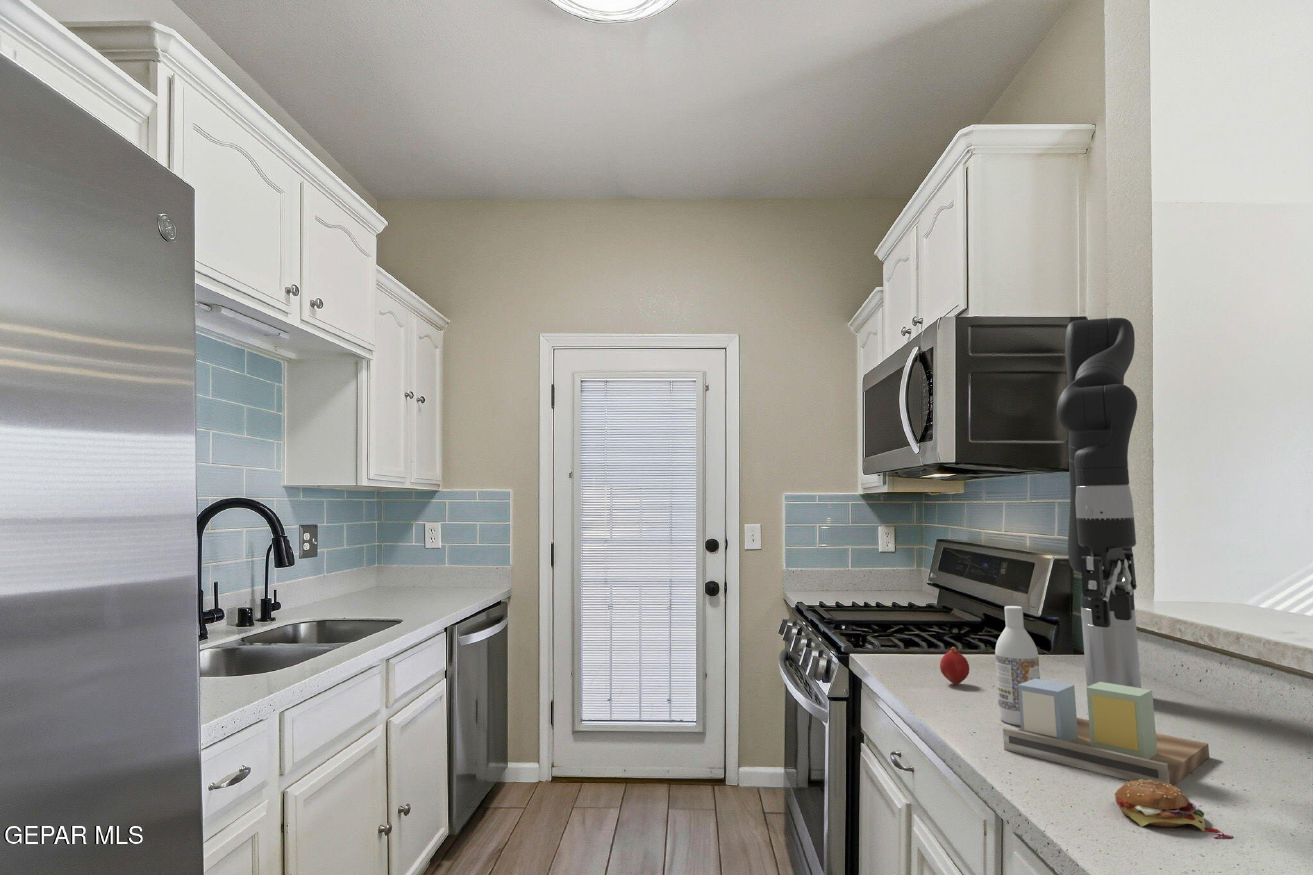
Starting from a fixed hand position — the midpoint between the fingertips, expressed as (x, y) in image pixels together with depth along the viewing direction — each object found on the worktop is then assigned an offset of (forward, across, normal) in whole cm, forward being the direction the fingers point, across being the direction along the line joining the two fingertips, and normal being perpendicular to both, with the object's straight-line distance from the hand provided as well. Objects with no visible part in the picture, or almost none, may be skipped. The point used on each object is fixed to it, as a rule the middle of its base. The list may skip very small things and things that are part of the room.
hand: (1112, 623), depth 109 cm
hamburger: (+21, -17, -11) cm, 29 cm away
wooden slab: (+20, +3, +3) cm, 21 cm away
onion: (+21, +26, +40) cm, 52 cm away
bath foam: (+21, +10, +19) cm, 30 cm away
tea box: (+18, -1, -1) cm, 18 cm away
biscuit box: (+18, -2, +9) cm, 21 cm away
